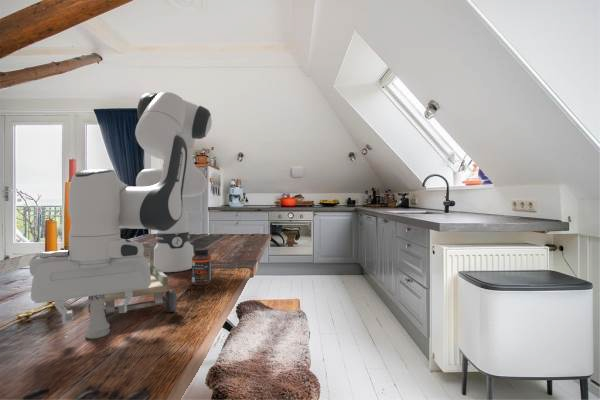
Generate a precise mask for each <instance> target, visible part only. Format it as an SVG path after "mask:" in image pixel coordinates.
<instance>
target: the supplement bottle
mask: <svg viewBox="0 0 600 400" xmlns="http://www.w3.org/2000/svg"><path fill="white" fill-rule="evenodd" d="M211 267H212V257H211V255H210V254H209V249H208V248H206V247H199V248H195V249H194V256H193V257H192V268H191V284H192V285H193V286H196V287H200V286H207V285H210V284H211V281H212V280H211V279H212V268H211Z"/></svg>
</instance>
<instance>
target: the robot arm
mask: <svg viewBox="0 0 600 400" xmlns="http://www.w3.org/2000/svg"><path fill="white" fill-rule="evenodd" d="M136 110H137V111H136V113H137V114H136V115H137V119H138V122H137V124H136V127H135V130H134V131H135V134H134V135H135V138H136V141H137V143H138V145H139V147H141V149H143V151H145V152H146V153H147V154H148V155H150V156H152V157H154V158H156V159H160V160H162V161H163V165H162V168H161V167H160V168H159V167H154V168H153V167H152V168H146V169H141V171H139V172H138V173H137V176H136V178H135V186H131V185H129V184H126V183H125V182H123V181H122V180H121V179H119V178H118V174H117V172H116V170H115V169H111V168H96V169H84V170H79V171H77V172H75V173H74V174H73V175H72V177H71V180H70V184H69V190H68V216H69V218H70V229H69V232H68V249H67V250H58V251H43V252H40V253H39V254H37V255H34V256H33V257H32V258H31V259H30V261H29V273H30V275H31V276H32V282H31V289H30V299H31V301H33V302H34V303H35V304H42V303H49V302H54V307H55V309H57V311H58V312H59V313H60V314H61V316H62V323H63V324H64V323H69V322H73V316H74V315H73V309H71V310H68V309H67V308H66V307H65V306H64V305H65V303H66V300H73V299H80V298H88V296H96V295H103V294H111V293H118V292H125V296H126V298H125V299H123V302H119V303H118V308H119V312H118V314H125V313H128V312H127V306H128V304H129V303H130V300H131V299H132V298H133V297H132V296H133V290H141V289H147V288H148V287H149V286H150V284H151V274H150V268H149V260H148V258H147V257H146V256H145V255H144V253H145V248H144V246H143V244H141V242H139V241H137V240H136V241H135V240H131V239H125V238H121V230H120V229H134V230H136V229H138V230H139V229H140V230H141V229H142V230H145V229H146V230H150V231H151V230H152V231H157V233H156V237H155V239H156V243H155V244H156V245H154V266H156V267H157V268H158V269H159V270H161V271H162V272H163V273H172V272H173V273H176V272H183V271H188V270H190V269H191V270H192V257H193V256H194V255H195V251H194V245H192V244H191V243H190V240H191V239H190V237H191V236H190V231H189V214H188V211H187V210H186V209H185V208H183V198H186V197H187V198H191V197H197V196H202V195H203V194H204V193H205V191H206V189H207V187H208V180H207V177H206V175H205V174H204V173H203V172H202V171H201V170H199V169H198V167H197V166H196V165H195V162H194V149H195V142H196V140H201V139H203V138H205V137H207V135H208V134H209V132H210V130H211V128H212V123H213V120H212V113H211V112H210V110H209V109H207V108H206V107H204V106H202V105H197V104H196V103H192V102H189V101H187V100H184V99H183V98H182V97H181V96H179V95H178V94H176V93H173V92H171V91H170V92H169V91H164V92H159V93H158V92H157V93H156V92H146V93H144V94H143V95H142V96H141V97H140V98H139V101H138V103H137V107H136Z"/></svg>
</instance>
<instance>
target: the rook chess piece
mask: <svg viewBox="0 0 600 400" xmlns="http://www.w3.org/2000/svg"><path fill="white" fill-rule="evenodd" d="M106 300H107V298H105V294H103V295H99V296H97V297H96V296H94V297H93V296H90V300H89V301H87V304H88V305H89V304H90V305H91V307H90V309H89V308H88V310H89V312H90V311H91V315H90V314H89V321H88V323H87V326H86V327H85V329H84V332H86V333H84V336H85V338H87V339H89V340H96V339H101V338H103V337H106V336H107V335H109V334H110V332H111V329H110V327H111V324H110V323H109V322H108V320H107V318H106V315H105V312H104V310H105V309H106V303H105V301H106Z"/></svg>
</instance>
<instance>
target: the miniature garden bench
mask: <svg viewBox="0 0 600 400" xmlns="http://www.w3.org/2000/svg"><path fill="white" fill-rule="evenodd" d="M140 243H141V242H140ZM141 244H143V246H144V249H145V248H148V251H149V253H148V255H149V256H148V257H149V260H148V263H149V268H150V274H151V284H150V286H149V287H148V288H147V289H141V290H133V296H132V298H136V297H142V296H143V297H144V296H149V295H153V301H150V302H145V303H144V302H143V303H138V304H132V305H127V311H129V312H130V311H132V310H138V309H145V308H150V307H156V306H161V305H165V310H166V313H173V312H176V311H177V306H178V297H177V293H176V290H175V289H169V288H168V287H169V286H168V284H169V282H168V281H169V279H168V275H167V274H165V272H162V271H161V270H159V269H158V268H157V267H156V266H154V248H155V244H153V243H152V242H145V243H141ZM97 296H99V295H96V297H97ZM93 297H94V296H93ZM87 298H88V299H87V300H88V301H89V300H90V296H88V297H87ZM105 298H107V300H106V301H105V303H104V304H105V306H106V307H105V309H104V312H105V316H106V315H111V314H119V307H116V308H115V306H116V305H115V301H117V300H125V298H126V296H125V292H118V293H111V294H105ZM88 301H87V302H88ZM90 307H91V305H90V304H89V303H88V310H89V309H90ZM89 312H90V313H89V316H90V315H91V311H90V310H89Z"/></svg>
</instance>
